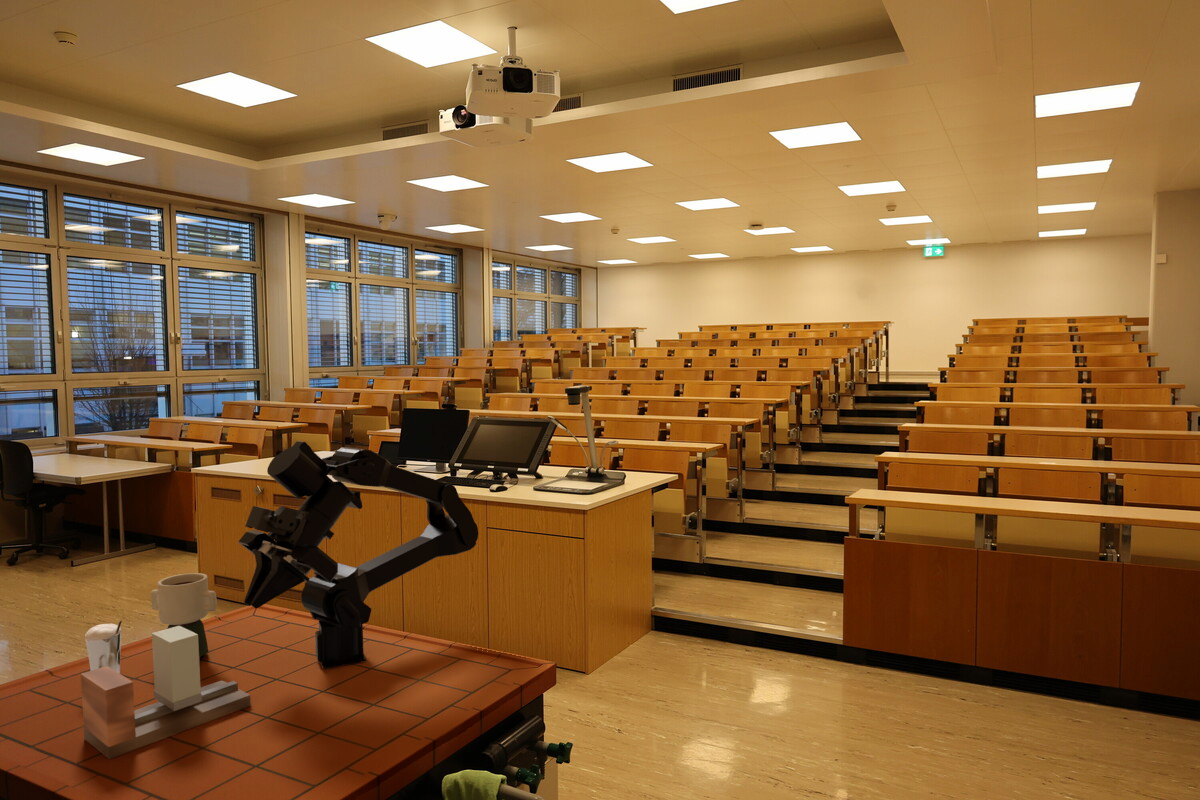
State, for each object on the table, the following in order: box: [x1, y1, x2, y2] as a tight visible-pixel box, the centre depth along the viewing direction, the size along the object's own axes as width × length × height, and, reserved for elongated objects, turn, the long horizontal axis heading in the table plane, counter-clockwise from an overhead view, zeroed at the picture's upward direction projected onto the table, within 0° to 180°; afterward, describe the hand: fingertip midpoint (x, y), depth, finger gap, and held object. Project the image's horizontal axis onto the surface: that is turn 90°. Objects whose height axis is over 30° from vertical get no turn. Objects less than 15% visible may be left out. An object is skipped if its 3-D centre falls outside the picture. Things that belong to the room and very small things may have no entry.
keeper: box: [151, 626, 202, 711], centre depth 103 cm, size 4×6×9 cm, turn 52°
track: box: [80, 666, 251, 760], centre depth 102 cm, size 18×8×8 cm, turn 142°
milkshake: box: [84, 620, 123, 674], centre depth 113 cm, size 5×5×10 cm
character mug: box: [150, 572, 218, 658], centre depth 123 cm, size 11×7×13 cm, turn 84°
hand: (250, 605), depth 110 cm, fingers closed
